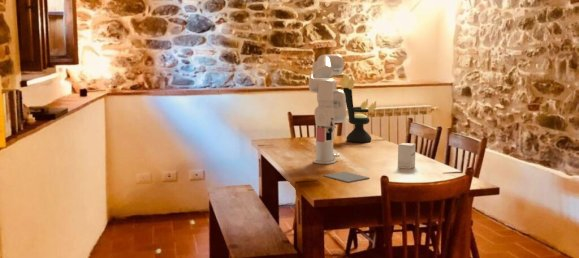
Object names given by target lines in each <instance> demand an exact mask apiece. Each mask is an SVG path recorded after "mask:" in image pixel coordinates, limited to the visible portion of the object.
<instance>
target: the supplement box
mask: <svg viewBox="0 0 579 258" xmlns="http://www.w3.org/2000/svg"><path fill="white" fill-rule="evenodd" d="M397 145H398V146H397V149H398V150H397V168H398V169H406V170H407V169H408V170H411V169H412V168H415V167H416V147H417V146H416V143H412V142H411V143H410V142H409V143H408V142H402V143H399V144H397Z"/></svg>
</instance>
